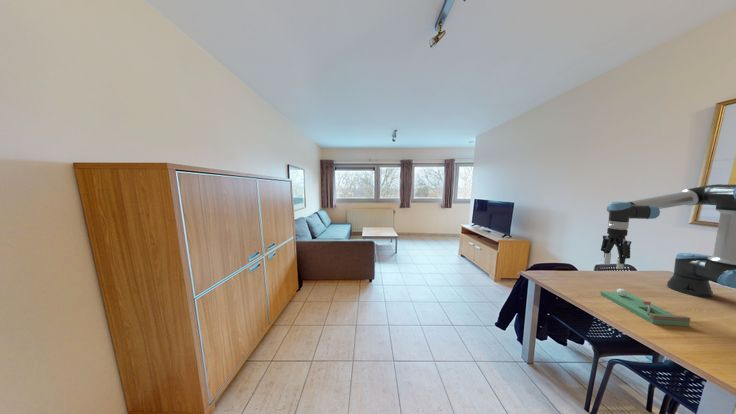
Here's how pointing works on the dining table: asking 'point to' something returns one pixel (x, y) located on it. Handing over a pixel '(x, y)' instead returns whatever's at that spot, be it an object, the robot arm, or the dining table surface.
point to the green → (646, 309)
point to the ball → (622, 292)
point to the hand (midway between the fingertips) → (613, 266)
